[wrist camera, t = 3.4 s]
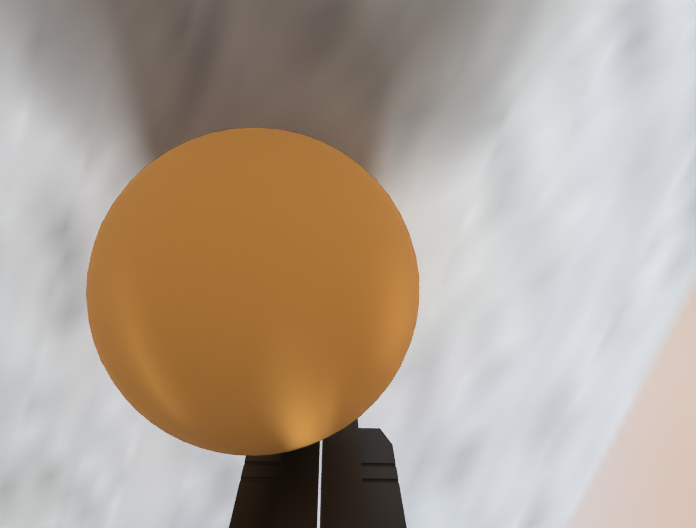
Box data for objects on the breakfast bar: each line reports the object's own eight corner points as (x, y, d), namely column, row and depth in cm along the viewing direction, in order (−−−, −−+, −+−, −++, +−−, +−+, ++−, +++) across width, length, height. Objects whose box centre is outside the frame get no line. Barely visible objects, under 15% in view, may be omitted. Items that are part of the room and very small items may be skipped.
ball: (301, 391, 13) (283, 597, 7) (108, 265, 11) (-76, 406, 6) (446, 224, 11) (545, 330, 6) (246, 63, 10) (160, 28, 5)
